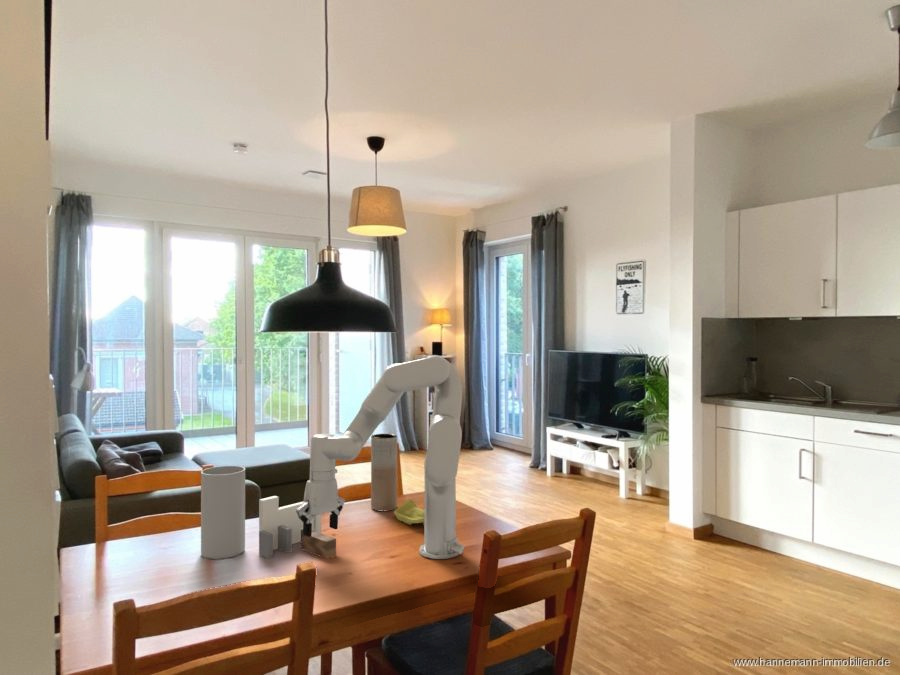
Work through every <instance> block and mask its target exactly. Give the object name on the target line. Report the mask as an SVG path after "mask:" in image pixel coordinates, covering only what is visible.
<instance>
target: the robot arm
mask: <svg viewBox="0 0 900 675" xmlns="http://www.w3.org/2000/svg"><path fill="white" fill-rule="evenodd" d="M373 386H374V387H372V389H371V391H370V392H369V393H368V395H367V396H366V397H365V399H364V400H363V401H362V404H361V406H360V407H359V410H358V412H357V413H356V415H355V417H354V418H353V419H352V421H351V422H350V424H349V426H348V427H347V428H346V430H345V431H344V432H343V433H342V435H341V436H335V435H334V434H331V433H317V434H313V435H312V436H311V439H310V457H309V479H308V480H307V481H306V484H305V488H304V492H303V493H304V494H303V501H304V502H303V501H302V502H303V504H302V505H301V506H300V507H299V508H298V509H297V510H296V512H297V514H298V517H299V519H301V521H302V522H303V534H304V535H305V536H308V537H311V534H312V523H310V522H311V520H312V518H313V517H314V516H316V515H320V514H321V515H324V514H328V513H331V514H329V525H328V527H329V528H331V529H334V530H338V526H339V525H338V524H339V516H340V514H341V512H342V510H343V507H344V505H345V501H346V499H345V498H343V497H341V496H339V492H338V491H339V489H338V487H339V486H338V481H337V478H336V474H337V473H338V469H337V468H336V460H337V461H340V462H341V461H343V462H351V461H353V460H354V461H355V459H356V458H357V457H358V456H359V454H360V453H361V451H362V449H363V448H364V446H365V445H366V444H367V442H368V440H370V439H371V436H372V435H373V433H374V432H375V431H376V430H377V428H378V427H379V426H380V425H381V423H382V422H384V421H385V420H386V419H387V417H388V416H389V415H390V413H391V412H392V410H393V408H394V407H395V406H396V404H397V403H398V402H399V401H400V399H401V398H402V396H403V394H404V393H406V392H411V391H416V390H421V389H426V388H431V387H434V398H433V408H432V414H431V421H430V423H429V430H428V440H427V441H428V442H427V447H426V448H427V450H426V456H425V458H424V463H423V467H424V468H423V471H424V472H423V473H424V474H423V475H424V501H423V502H424V509H423V510H424V525H423V527H424V529H423V530H424V533H423V534H424V536H423V537H424V540H423V542H424V543H423V544H421V545H420V546H419V551H418V552H419V554H420V555H421V556H422V557H425V558H429V559H432V560H434V559H435V560H447V559H451V558H454V557H457V556H459V555H462V554H463V551H464V549H465V545H464V544H460V543H459V537H456V534H457V533H456V531H457V530H456V527H457V526H456V523H457V522H456V519H457V518H456V514H457V513H456V500H457V499H456V498H457V495H456V494H457V491H456V487H457V486H456V484H457V481H456V478H457V475H458V470H459V463H460V462H459V461H460V453H461V446H462V440H463V438H462V437H463V433H462V427H461V414H462V413H461V412H462V404H463V403H462V402H463V384H462V380H461V376H460V374H459V372H458V370H457V369H456V367H455V366H454V365H453V364H452V363H450V361H449V360H447V359H445V357H443V356H440V355H438V354H432V355H429V356H428V357H424V358H419V359H416V360H411V361H407V362H402V363H400V362H397V363H396V362H395V363H392V364H390V365H388V366H387V368H385V370H384V372H383V373H382V375H381V376H380V378H379V379H378V381H377V382H376V383H375V385H373ZM303 512H304V513H305V514H303ZM308 516H309V517H308Z"/></svg>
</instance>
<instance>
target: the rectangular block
mask: <svg viewBox="0 0 900 675" xmlns="http://www.w3.org/2000/svg"><path fill="white" fill-rule="evenodd" d="M300 550H303V551H306V552H308V553H311V552H312V553H311V554H313V553H315V554H314V555H316V554H317V555H316V556H318V555H320V556H319V557H321V556H322V557H321V558H323V557H324V559H326V558H327V559H330V558H333V557H335V555H336V556H337V538H335V537H332V536H329V535H326V534H324V533H322V532H321V533H318V532H315V531H313V530H312V534H311V537H308V536H305V535H304V534H303V529H302V530H301V542H300ZM332 556H333V557H332Z"/></svg>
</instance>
